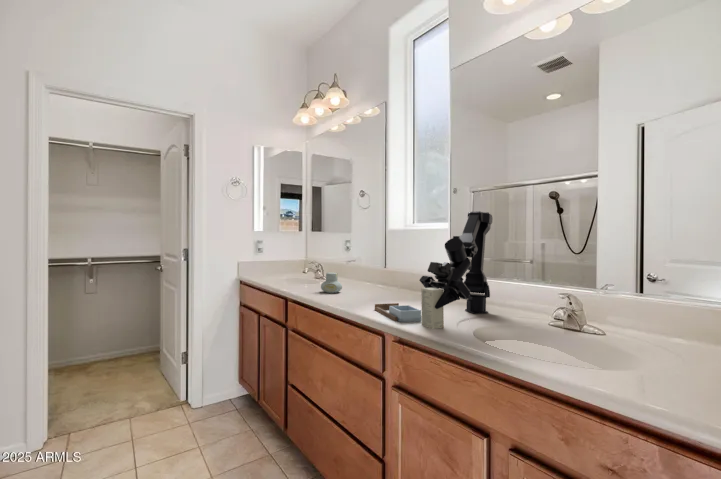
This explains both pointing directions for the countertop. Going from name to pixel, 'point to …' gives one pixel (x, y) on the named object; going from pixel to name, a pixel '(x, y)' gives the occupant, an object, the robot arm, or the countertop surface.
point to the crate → (405, 313)
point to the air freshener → (331, 283)
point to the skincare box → (432, 308)
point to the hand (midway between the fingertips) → (428, 306)
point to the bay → (383, 307)
